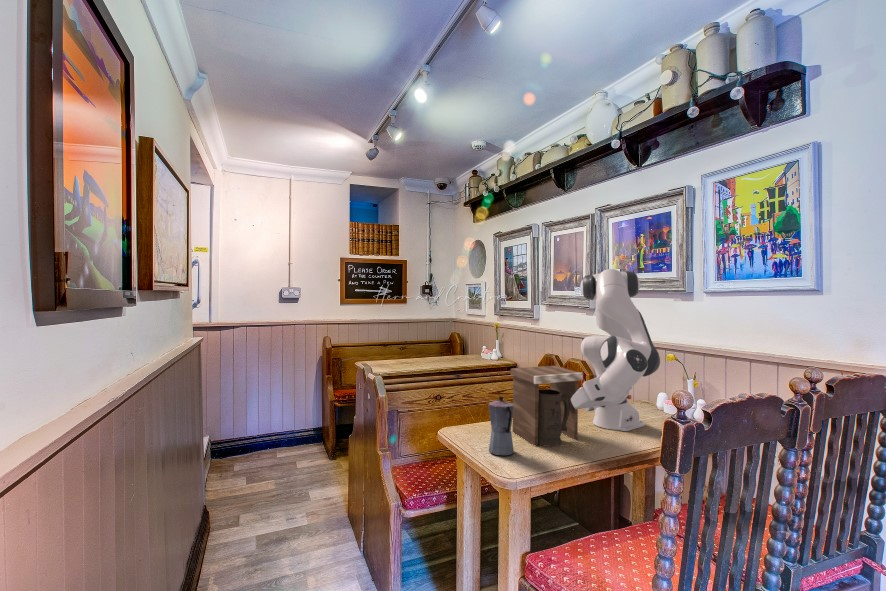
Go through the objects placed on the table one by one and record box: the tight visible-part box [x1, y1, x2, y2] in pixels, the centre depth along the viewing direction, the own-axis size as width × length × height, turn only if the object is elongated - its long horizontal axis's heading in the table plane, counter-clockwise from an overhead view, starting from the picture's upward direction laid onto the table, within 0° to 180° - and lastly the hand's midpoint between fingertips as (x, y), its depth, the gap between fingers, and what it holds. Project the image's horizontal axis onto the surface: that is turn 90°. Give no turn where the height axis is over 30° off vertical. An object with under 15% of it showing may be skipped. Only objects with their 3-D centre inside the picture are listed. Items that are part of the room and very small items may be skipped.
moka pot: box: [488, 396, 515, 456], centre depth 150 cm, size 10×15×20 cm, turn 19°
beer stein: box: [538, 388, 570, 447], centre depth 163 cm, size 15×11×20 cm
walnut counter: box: [510, 365, 584, 446], centre depth 168 cm, size 22×18×27 cm
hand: (588, 409), depth 144 cm, fingers closed
